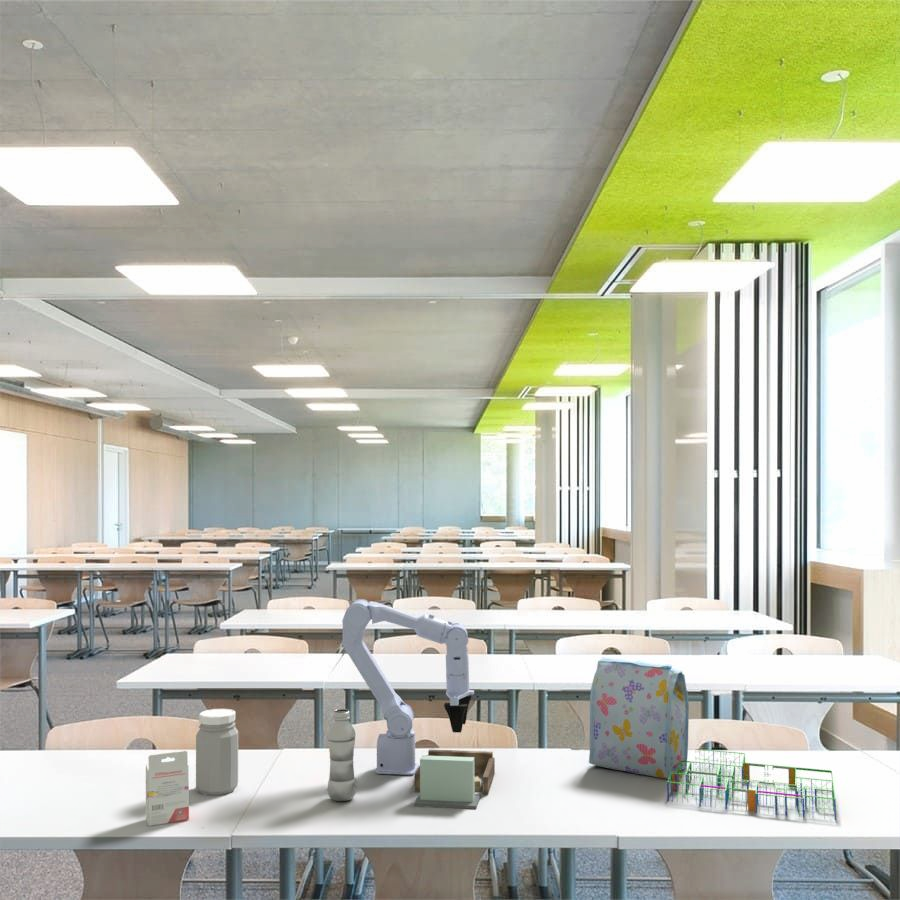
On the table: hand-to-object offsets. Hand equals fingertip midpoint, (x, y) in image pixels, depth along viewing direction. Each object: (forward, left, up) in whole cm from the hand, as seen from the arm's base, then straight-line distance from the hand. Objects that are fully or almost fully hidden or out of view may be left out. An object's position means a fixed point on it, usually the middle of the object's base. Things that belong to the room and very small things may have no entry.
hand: (459, 728), depth 232 cm
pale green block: (0, -23, -10) cm, 25 cm away
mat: (0, -23, -10) cm, 25 cm away
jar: (-55, -22, -11) cm, 60 cm away
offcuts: (0, -14, -11) cm, 18 cm away
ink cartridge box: (-58, -42, -11) cm, 72 cm away
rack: (0, -8, -10) cm, 13 cm away
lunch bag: (+45, +8, -11) cm, 47 cm away
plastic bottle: (-24, -25, -11) cm, 36 cm away
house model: (+69, -7, -11) cm, 71 cm away
